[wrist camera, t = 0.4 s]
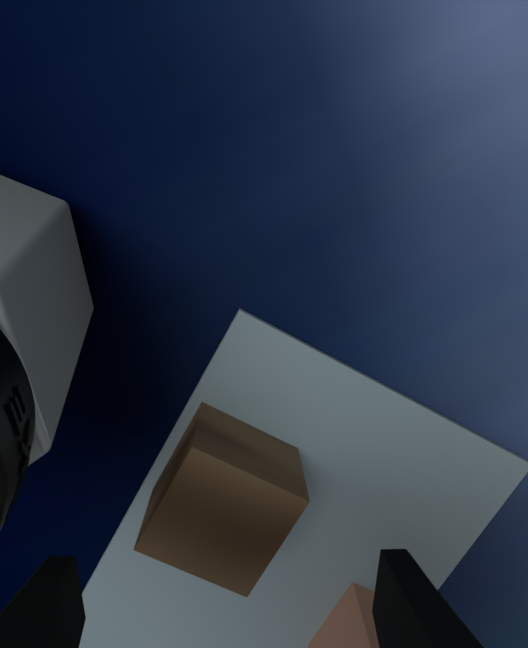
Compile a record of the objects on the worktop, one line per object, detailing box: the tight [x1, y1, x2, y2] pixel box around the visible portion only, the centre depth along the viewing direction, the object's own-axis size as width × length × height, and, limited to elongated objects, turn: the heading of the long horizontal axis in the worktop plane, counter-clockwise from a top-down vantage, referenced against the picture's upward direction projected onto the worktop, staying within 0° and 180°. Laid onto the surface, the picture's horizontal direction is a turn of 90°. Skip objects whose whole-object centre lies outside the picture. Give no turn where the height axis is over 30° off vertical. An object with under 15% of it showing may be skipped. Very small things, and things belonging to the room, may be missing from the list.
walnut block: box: [134, 402, 310, 597], centre depth 20 cm, size 5×5×4 cm
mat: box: [79, 308, 528, 648], centre depth 23 cm, size 20×16×1 cm
